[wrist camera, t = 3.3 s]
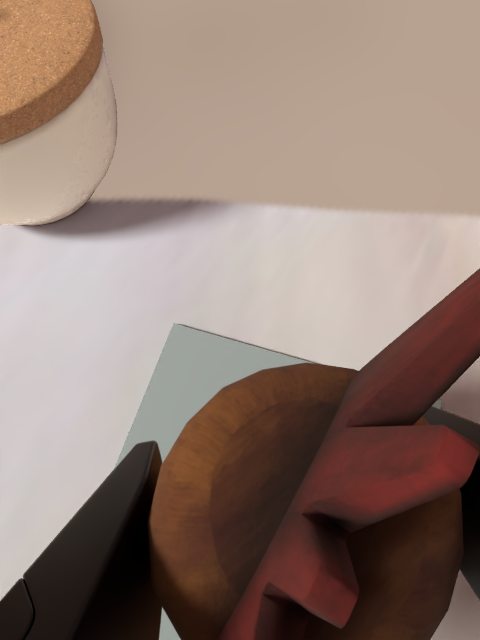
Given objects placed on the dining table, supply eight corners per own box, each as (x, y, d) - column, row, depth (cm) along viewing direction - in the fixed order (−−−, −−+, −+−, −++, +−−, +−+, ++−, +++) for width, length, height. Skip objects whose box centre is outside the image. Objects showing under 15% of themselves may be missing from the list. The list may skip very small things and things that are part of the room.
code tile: (402, 773, 12) (404, 777, 12) (49, 632, 14) (46, 634, 14) (439, 401, 17) (442, 399, 17) (174, 325, 19) (173, 323, 18)
